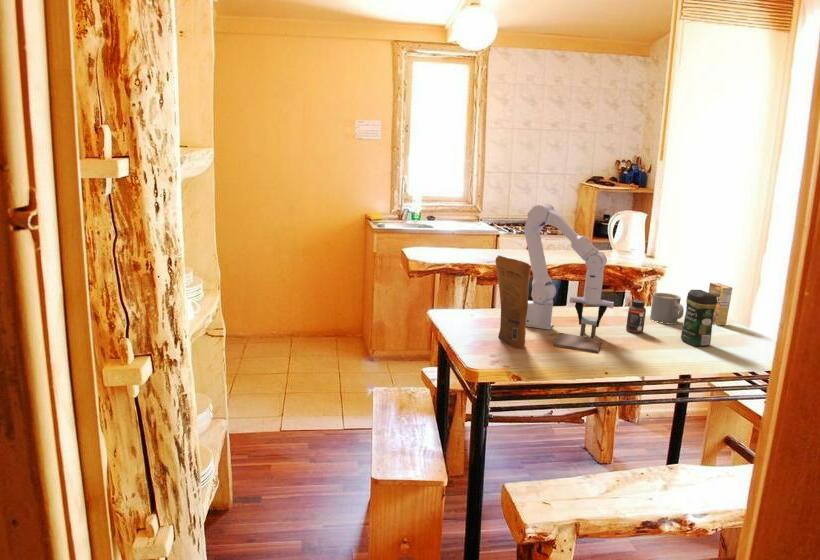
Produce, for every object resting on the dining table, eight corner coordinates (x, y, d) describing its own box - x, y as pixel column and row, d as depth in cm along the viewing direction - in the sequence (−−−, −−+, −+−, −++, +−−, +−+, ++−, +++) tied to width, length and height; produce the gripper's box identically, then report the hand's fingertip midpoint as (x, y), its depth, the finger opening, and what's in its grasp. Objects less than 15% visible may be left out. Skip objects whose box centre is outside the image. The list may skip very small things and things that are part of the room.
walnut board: (553, 345, 200) (553, 343, 200) (559, 334, 213) (559, 332, 213) (597, 353, 195) (597, 350, 195) (601, 341, 208) (601, 339, 208)
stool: (579, 336, 213) (581, 319, 212) (580, 332, 218) (582, 316, 216) (594, 338, 211) (596, 321, 210) (596, 334, 216) (597, 318, 215)
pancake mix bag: (513, 351, 192) (521, 264, 187) (487, 333, 210) (494, 253, 204) (532, 350, 195) (541, 263, 189) (505, 332, 212) (512, 253, 206)
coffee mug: (644, 317, 244) (648, 292, 242) (667, 317, 246) (670, 292, 244) (664, 326, 231) (668, 301, 229) (688, 326, 233) (692, 301, 231)
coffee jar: (676, 338, 216) (683, 287, 212) (696, 338, 217) (704, 288, 213) (692, 347, 207) (701, 294, 203) (714, 347, 208) (722, 294, 204)
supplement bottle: (644, 334, 219) (648, 303, 217) (626, 332, 220) (630, 302, 218) (641, 330, 225) (645, 300, 223) (624, 328, 226) (628, 298, 224)
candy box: (703, 319, 245) (709, 282, 242) (712, 319, 246) (718, 282, 243) (716, 325, 237) (723, 287, 233) (726, 326, 237) (733, 287, 234)
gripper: (616, 287, 212) (611, 325, 215) (573, 282, 217) (569, 319, 220) (614, 291, 205) (609, 330, 208) (570, 286, 210) (566, 324, 213)
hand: (588, 325), depth 214 cm, fingers closed on stool, 5 cm apart
